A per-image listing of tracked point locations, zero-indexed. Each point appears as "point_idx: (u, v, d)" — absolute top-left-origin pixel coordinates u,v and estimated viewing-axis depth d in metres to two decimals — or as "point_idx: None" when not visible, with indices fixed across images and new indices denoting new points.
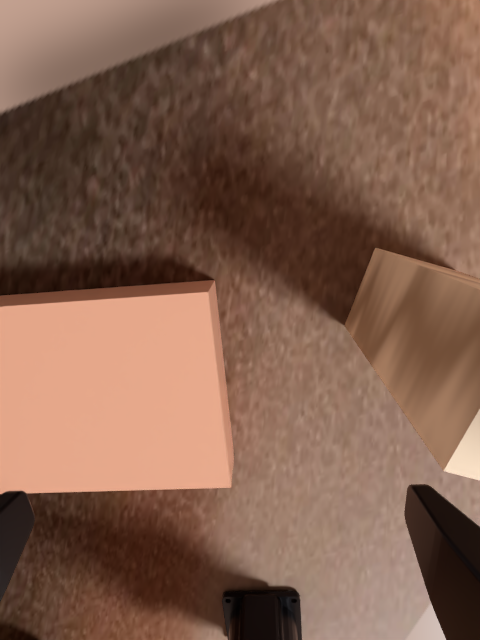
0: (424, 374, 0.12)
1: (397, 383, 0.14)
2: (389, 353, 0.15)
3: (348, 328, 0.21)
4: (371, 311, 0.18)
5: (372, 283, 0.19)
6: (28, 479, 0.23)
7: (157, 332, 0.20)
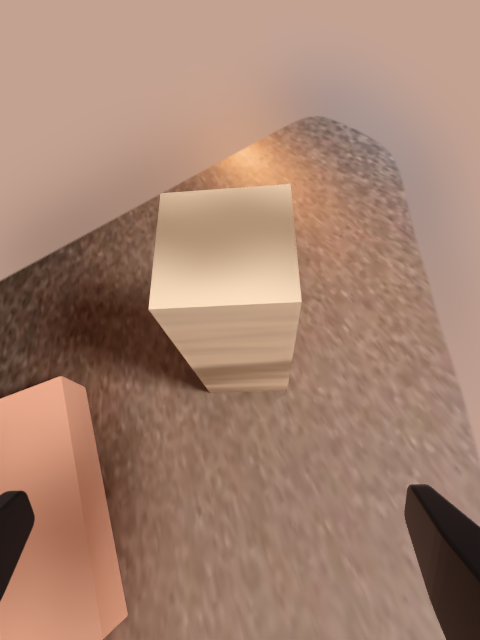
0: None
1: None
2: None
3: None
4: None
5: None
6: None
7: (13, 428, 0.20)
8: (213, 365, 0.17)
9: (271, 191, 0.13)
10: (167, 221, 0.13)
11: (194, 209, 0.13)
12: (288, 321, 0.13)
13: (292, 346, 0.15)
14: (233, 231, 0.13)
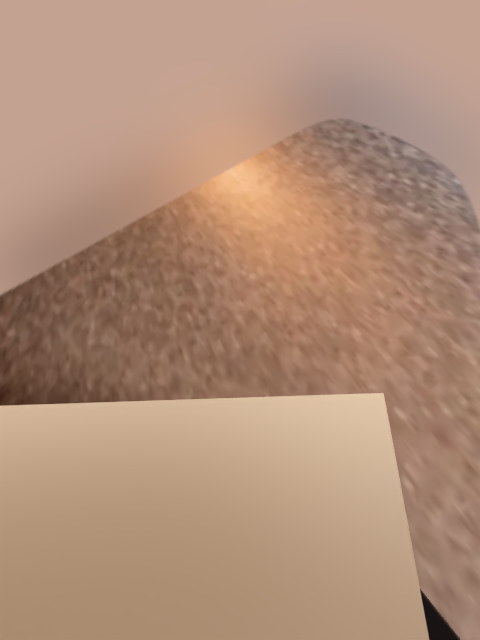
0: None
1: None
2: None
3: None
4: None
5: None
6: None
7: None
8: None
9: (306, 429, 0.03)
10: None
11: None
12: None
13: None
14: None
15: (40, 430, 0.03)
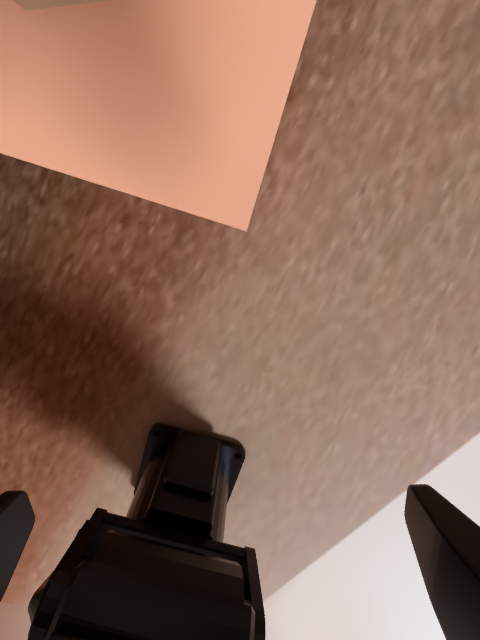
0: None
1: None
2: None
3: None
4: None
5: None
6: None
7: None
8: None
9: None
10: None
11: None
12: None
13: None
14: None
15: None
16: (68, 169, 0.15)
